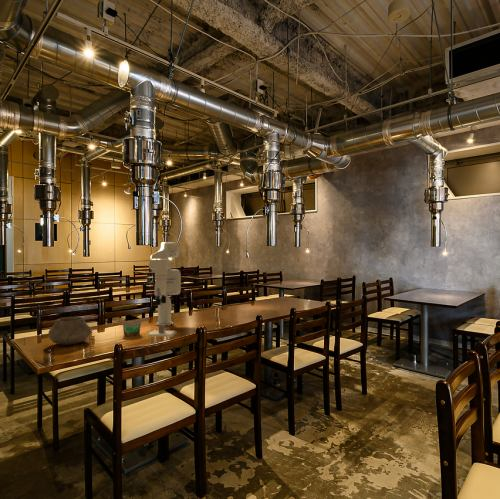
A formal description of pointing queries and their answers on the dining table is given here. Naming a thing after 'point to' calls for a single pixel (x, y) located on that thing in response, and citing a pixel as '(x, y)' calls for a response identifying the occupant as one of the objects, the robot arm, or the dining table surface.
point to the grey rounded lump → (69, 331)
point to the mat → (163, 336)
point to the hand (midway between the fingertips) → (160, 304)
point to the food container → (131, 328)
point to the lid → (161, 331)
